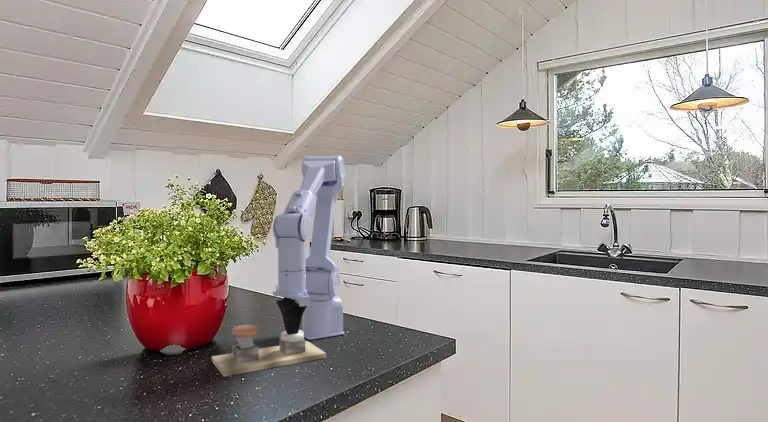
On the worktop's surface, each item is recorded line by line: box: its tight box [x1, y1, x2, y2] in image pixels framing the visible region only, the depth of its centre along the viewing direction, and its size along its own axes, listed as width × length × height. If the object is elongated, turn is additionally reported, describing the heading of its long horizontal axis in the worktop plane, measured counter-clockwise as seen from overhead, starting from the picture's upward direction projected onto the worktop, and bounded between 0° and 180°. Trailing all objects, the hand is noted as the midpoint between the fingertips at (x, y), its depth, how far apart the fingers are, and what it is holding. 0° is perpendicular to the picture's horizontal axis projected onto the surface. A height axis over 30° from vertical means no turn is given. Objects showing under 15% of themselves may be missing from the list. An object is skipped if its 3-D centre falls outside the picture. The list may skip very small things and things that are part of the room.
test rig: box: [211, 337, 327, 377], centre depth 105 cm, size 21×10×4 cm, turn 121°
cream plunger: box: [280, 329, 305, 342], centre depth 107 cm, size 5×5×4 cm
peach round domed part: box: [232, 324, 258, 349], centre depth 102 cm, size 5×5×4 cm
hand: (292, 333), depth 107 cm, fingers closed, pressing on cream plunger
